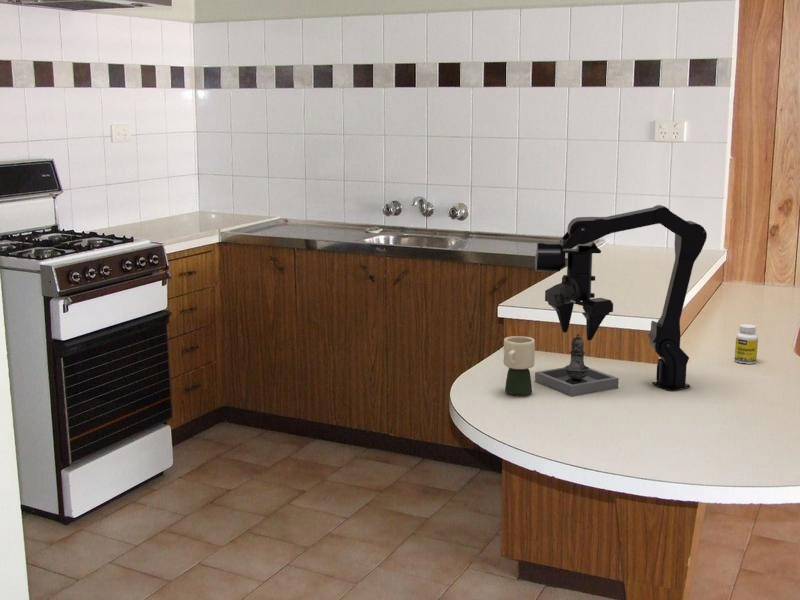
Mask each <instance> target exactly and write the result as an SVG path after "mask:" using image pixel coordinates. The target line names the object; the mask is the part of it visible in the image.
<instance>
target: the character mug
mask: <svg viewBox="0 0 800 600" xmlns="http://www.w3.org/2000/svg"><path fill="white" fill-rule="evenodd" d="M535 341H536V340H535V339H534V338H532V337H529V336H522V335H521V336H518V335H516V336H515V335H514V336H506V337H504V339H503V351H504V354H503V355H504V357H503V365H504V366H505V367H506V368H508V370H507V373H506V379H505V388H504V392H505V393H507V394H514V395H515V396H517V395H530V394H531V393H533V389H532V387H533V386H532V379H531V378H532V376H531V371H530V369H532V368H533V367H534V366H535V361H536V360H535V357H536V356H535V353H536V351H535V350H536V349H535V347H536V345H535V344H536V342H535Z"/></svg>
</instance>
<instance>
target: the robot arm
mask: <svg viewBox="0 0 800 600" xmlns="http://www.w3.org/2000/svg"><path fill="white" fill-rule="evenodd" d="M659 224H660V225H661V226H663V227H664V228H666V229H667V230H669V232H672V233H674V263H673V267H672V270H671V276H670V280H669V283H668V288H667V291H666V292H667V293H666V295H665V296H666V297H665V301H664V304H663V307H662V308H663V309H662V312H661V316H660V317H659V319H658V320H657V321H656V320H655V321H654V320H651V323H650V331H649V332H648V334H647V338H649V344H650V346H651V347H652V349H653V350H654V351H655V353H656V354H657V355H658V357H659V358H657V364H656V374H655V375H656V377H655V381H652V382H651V385H652V386H656V387H659V388H661V389H664V390H667V391H676V390H682V389H686V388H687V389H688V388H691V385H690V384H689V383H686V380H687V367H688V366H687V364H688V362H689V359H690V357H689V355H687V353H685V351H684V350H683V349H682V348H681V335H682V334H681V317H682V312H683V308H684V305H685V300H686V297H687V293H688V288H689V284H690V280H691V275H692V271H693V267H694V264H695V262H696V260H697V259H698V258H699V256H700V254H701V253H702V250H703V248H704V245H705V244H706V242H707V237H708V236H707V235H708V234H707V231H706V228H704V226H702V225H701V224H699V223H697V222H695V221H692V220H685V219H683V218H682V217H680V216H678V215H677V214H676V213H674V212H673V211H671V210H670V209H669V208H668V207H667V206H664V205H661V204H657V205H654V206H653V207H648V208H643V209H639V210H638V209H637V210H633V211H628V212H624V213H619V214H613V215H609V216H578V217H575V218H572V219H571V220H570V221H569V222H568V225H567V230H566V232H565V234H564V235H563V236H562V238H561V239H560V240H559V241H558V242H544V241H538V242H536V249H535V251H536V253H535V257H534V262H535V263H534V266H535V272H561V269H563V268H565V266H566V274H563V275H562V277H561V282H560V283H557V284H555V285H552V286H551V287H550V288H549V287H548V288H547V289H546V290H544V293H545V294H544V301H545V302H547V304H548V305H549V306H550V307H551V308H553V309H554V310H555V312H556V315H557V317H558V320H559V324H560V328H561V332H562V333H567V332H568V331H569V328H570V325H571V324H570V322H571V319H572V314H573V309H574V306H575V305H577V306H580V307H582V309H583V311H584V312H582V313H581V314H582V315H583V317H584V318H585V321H586V325H585V326H586V340H587V341H592V340H593V338H594V337H595V335H596V333H597V331H598V330H599V328H600V325H601V324H602V323H603V321H604V319H606V317H607V316H608V315H610V313H613V312H614V303H613V302H612V300H611V299H608V298H604V297H596V298H595V295H596V294H595V293H594V292H592V281H593V282H595V281H596V276H595V275H592V273H593V271H592V269H593V268H592V267H593V254H601V253H602V250H601V249H600V248H599V247H598V246H597V243H595V241H597V240H600V239H601V238H603V237H605V236H607V235H611V234H615V233H619V232H623V231H629V230H634V229H638V228H644V227H648V226H654V225H659ZM589 243H590V244H589ZM587 244H589V245H587ZM575 247H576V248H575ZM566 254H567V262H566ZM566 264H567V265H566Z"/></svg>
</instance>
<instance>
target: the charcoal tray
mask: <svg viewBox="0 0 800 600" xmlns="http://www.w3.org/2000/svg"><path fill="white" fill-rule="evenodd" d="M534 373H535V374H534V383H536V384H539V385H542V386H544V387H546V388H548V389H551V390H554V391H556V392H559V393H561V394H563V395H566V396H569V397H571V398H572V397H577V396H583V395H588V394H593V393H599V392H603V391H610V390H611V391H612V390H616V389H618V388H619V379H620V378H619V377H617V376H614V375H611V374H608V373H606V372H603V371H600V370H597V369H595V368H592V367H589V370H588V373H587V376H586V377H585V378H582V379H585V380H586V381H587V382H584V383H579V384H573V385H572V384H569V383H567V382H565V381H566V380H568V379H570V377H569V376H568V375H567V373H566V369H565V366H564V367H557V368H552V369H546V370H540V371H535V372H534Z"/></svg>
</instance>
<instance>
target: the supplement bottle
mask: <svg viewBox="0 0 800 600" xmlns="http://www.w3.org/2000/svg"><path fill="white" fill-rule="evenodd" d="M756 331H757V326H756V325H754V324H748V323H745V324H744V323H741V324H739V332H738V333H736V337H735V349H734V362H735V363H737V362H739V363H738V364H741V363H746V364H745V365H754V364H756V363H757V360H758V359H757V357H758V343H759V335H758V334H756ZM753 363H754V364H753Z"/></svg>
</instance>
